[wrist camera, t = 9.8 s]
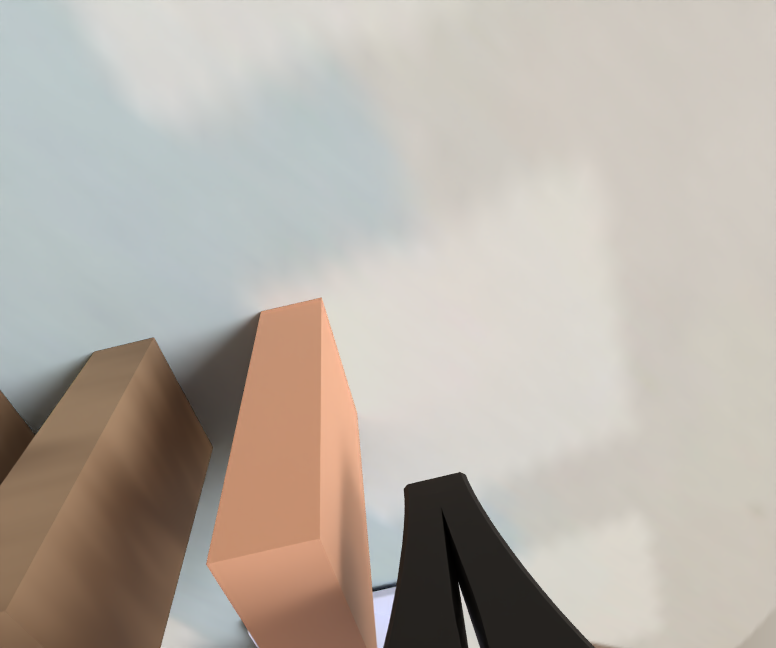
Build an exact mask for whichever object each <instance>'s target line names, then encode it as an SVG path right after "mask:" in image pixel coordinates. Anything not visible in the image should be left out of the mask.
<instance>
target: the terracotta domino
mask: <svg viewBox="0 0 776 648" xmlns="http://www.w3.org/2000/svg"><path fill="white" fill-rule="evenodd" d="M206 565H207V566H208V568H209V570H210V571H211V573H212V574H213V576H214V577H215V579H216V581H217V582H218V584H219V585H220V587H221V588H222V590H223V592H224V593H225V595H226V596H227V598H228V599H229V601H230V603H231V604H232V606H233V607H234V609H235V610H236V612H237V614H238V615H239V617H240V618H241V620H242V621H243V623H244V625H245V626H246V628H247V629H248V631H249V632H250V634H251V636H252V637H253V639H254V640H255V642H256V643H257V645H258V647H259V648H377V639H376V628H375V616H374V604H373V593H372V581H371V569H370V558H369V546H368V534H367V523H366V511H365V500H364V488H363V476H362V465H361V453H360V441H359V430H358V418H357V412H356V408H355V405H354V402H353V399H352V395H351V392H350V389H349V386H348V382H347V379H346V376H345V373H344V369H343V366H342V363H341V359H340V356H339V353H338V350H337V346H336V343H335V340H334V337H333V333H332V330H331V327H330V324H329V320H328V317H327V314H326V310H325V307H324V304H323V301H322V298H318V299H313V300H309V301H305V302H301V303H296V304H292V305H288V306H283V307H279V308H275V309H270V310H266V311H262V312H261V314H260V319H259V323H258V328H257V332H256V337H255V342H254V346H253V351H252V356H251V360H250V365H249V369H248V374H247V379H246V383H245V388H244V392H243V397H242V402H241V406H240V411H239V415H238V420H237V425H236V429H235V434H234V438H233V443H232V448H231V452H230V457H229V461H228V466H227V471H226V475H225V480H224V485H223V489H222V494H221V498H220V503H219V508H218V512H217V517H216V521H215V526H214V531H213V535H212V540H211V544H210V549H209V554H208V558H207V563H206Z"/></svg>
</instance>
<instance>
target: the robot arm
mask: <svg viewBox="0 0 776 648" xmlns="http://www.w3.org/2000/svg"><path fill="white" fill-rule="evenodd" d="M404 498H405V515H404V531H403V542H402V550H401V557H400V565H399V572H398V579H397V585H396V587H392V588H387V589H383V590H379V591H374V592H372V593H373V604H374V616H375V628H376V639H377V648H468V643H467V636H466V630H465V623H464V616H463V610H462V603H461V597H460V590H459V585H460V588H461V591H462V594H463V597H464V600H465V603H466V606H467V609H468V612H469V615H470V618H471V621H472V624H473V627H474V630H475V633H476V636H477V639H478V642H479V645H480V648H595V647H594V646H593V645H592V644H591V643H590V642H589V641H588V640H587V639H586V638H585V637H584V636H583V635H582V634H581V633H580V632H579V630H578V629H577V628H576V627H575V626H574V625H573V624H572V623H571V622H570V621H569V619H568V618H567V617H566V616H565V615H564V614H563V613H562V612H561V611H560V610H559V608H558V607H557V606H556V605H555V604H554V603H553V601H552V600H551V599H550V598H549V597H548V596H547V594H546V593H545V592H544V591H543V590H542V588H541V587H540V586H539V585H538V584H537V582H536V581H535V580H534V579H533V577H532V576H531V575H530V574H529V572H528V571H527V570H526V569H525V567H524V566H523V565H522V563H521V562H520V561H519V560H518V558H517V557H516V556H515V554H514V553H513V551H512V550H511V549H510V547H509V546H508V544H507V543H506V542H505V540H504V539H503V538H502V536H501V535H500V533H499V532H498V530H497V529H496V528H495V526H494V525H493V523H492V522H491V520H490V518H489V517H488V515H487V514H486V512H485V511H484V509H483V507H482V506H481V504H480V502H479V501H478V499H477V497H476V495H475V493H474V492H473V490H472V488H471V486H470V484H469V481H468V479H467V477H466V475H465V474H463V473H461V472H459V473H455V474H450V475H446V476H442V477H437V478H433V479H429V480H425V481H420V482H416V483H412V484H408V485H407V486H406V487H405V488H404ZM458 582H459V584H458ZM248 634H249V636H250V637H251V639H252V640H253V642H254V643H255V645H256V646H257V648H259V647H258V645H257V643H256V642H255V640H254V639H253V637H252V636H251V634H250V632H249V631H248Z"/></svg>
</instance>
